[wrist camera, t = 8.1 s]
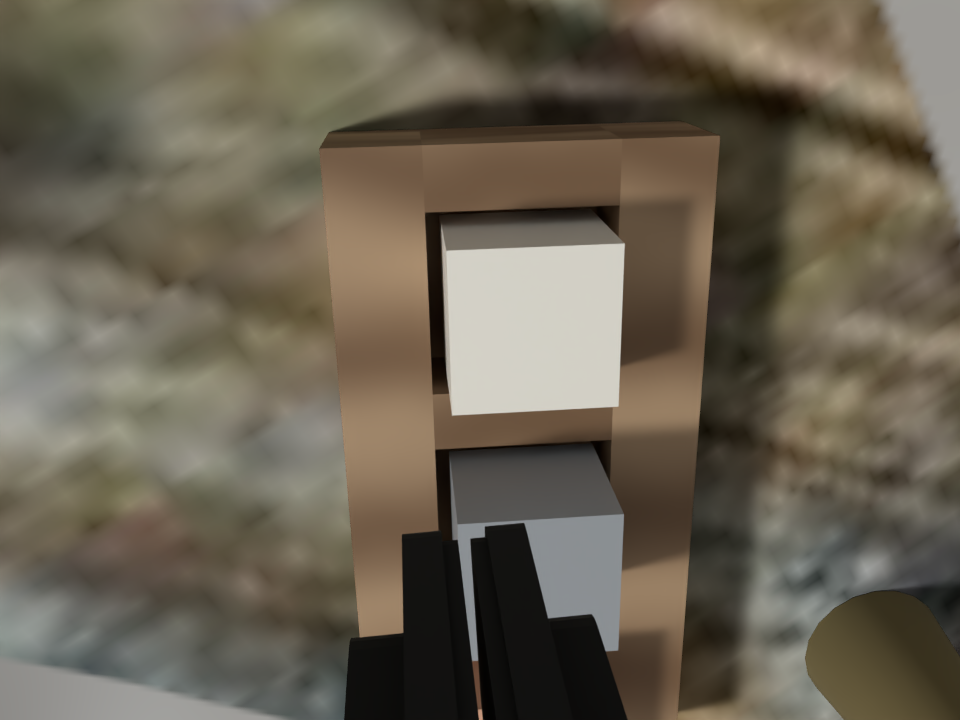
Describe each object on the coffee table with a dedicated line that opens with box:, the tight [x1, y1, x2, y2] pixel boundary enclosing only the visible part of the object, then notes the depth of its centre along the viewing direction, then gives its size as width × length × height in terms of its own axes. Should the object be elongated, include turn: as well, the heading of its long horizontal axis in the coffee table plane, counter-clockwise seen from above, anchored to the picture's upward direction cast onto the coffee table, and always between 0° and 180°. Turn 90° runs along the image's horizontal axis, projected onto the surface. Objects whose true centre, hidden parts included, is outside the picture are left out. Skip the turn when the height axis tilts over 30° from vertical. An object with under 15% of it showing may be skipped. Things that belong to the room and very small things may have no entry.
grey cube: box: [449, 443, 624, 661], centre depth 30 cm, size 5×5×5 cm
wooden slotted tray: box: [319, 121, 720, 720], centre depth 33 cm, size 26×12×4 cm, turn 1°
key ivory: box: [439, 209, 625, 416], centre depth 28 cm, size 5×5×5 cm
